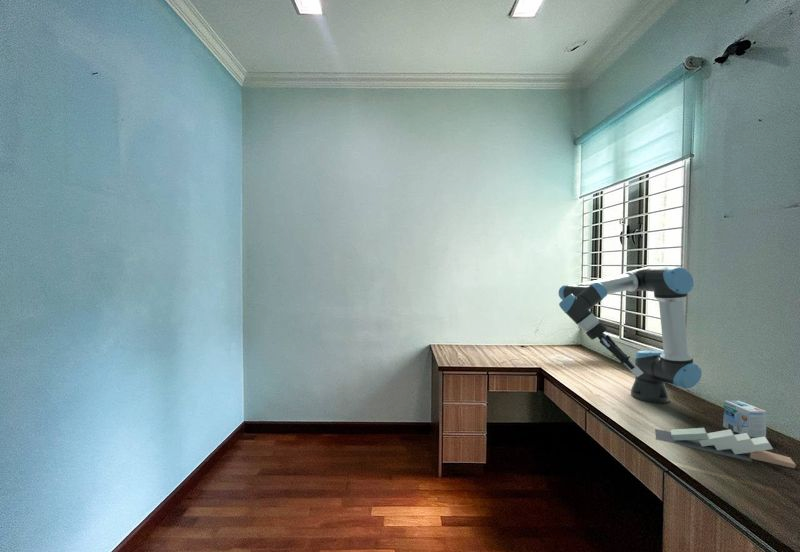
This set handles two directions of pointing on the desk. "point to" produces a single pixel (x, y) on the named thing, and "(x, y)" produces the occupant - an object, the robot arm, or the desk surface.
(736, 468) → the desk surface
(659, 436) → the domino mat
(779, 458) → the end domino
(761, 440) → the domino
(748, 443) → the domino
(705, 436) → the domino
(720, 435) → the domino
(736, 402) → the light bulb box
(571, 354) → the desk surface
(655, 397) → the robot arm
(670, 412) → the desk surface
